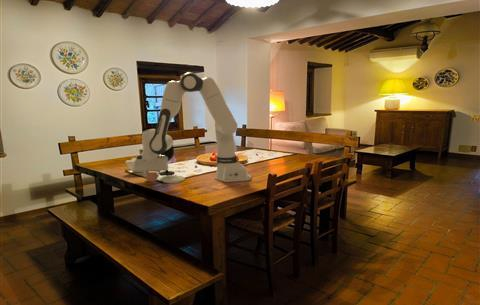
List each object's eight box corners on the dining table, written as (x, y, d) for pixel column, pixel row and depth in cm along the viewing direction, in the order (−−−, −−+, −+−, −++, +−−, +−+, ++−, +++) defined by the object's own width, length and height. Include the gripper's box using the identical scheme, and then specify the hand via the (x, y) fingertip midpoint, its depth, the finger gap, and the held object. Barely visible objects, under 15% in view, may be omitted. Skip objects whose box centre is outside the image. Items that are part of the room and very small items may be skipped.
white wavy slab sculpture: (144, 175, 204) (143, 159, 202) (123, 173, 208) (122, 158, 206) (171, 163, 237) (170, 150, 235) (152, 162, 241) (151, 149, 239)
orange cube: (157, 179, 194) (156, 171, 193) (155, 181, 189) (154, 173, 188) (149, 179, 194) (148, 171, 193) (147, 181, 189) (146, 173, 188)
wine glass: (159, 176, 201) (157, 145, 198) (158, 172, 211) (157, 143, 207) (175, 174, 204) (174, 144, 200) (174, 171, 214) (173, 142, 210)
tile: (186, 176, 199) (186, 175, 199) (182, 182, 185) (182, 181, 185) (164, 177, 199) (164, 175, 198) (159, 183, 185) (159, 181, 185)
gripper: (168, 154, 192) (169, 175, 195) (135, 154, 191) (137, 176, 194) (166, 156, 186) (167, 178, 188) (132, 156, 185) (134, 179, 188)
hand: (151, 177), depth 191 cm, fingers closed on orange cube, 5 cm apart
